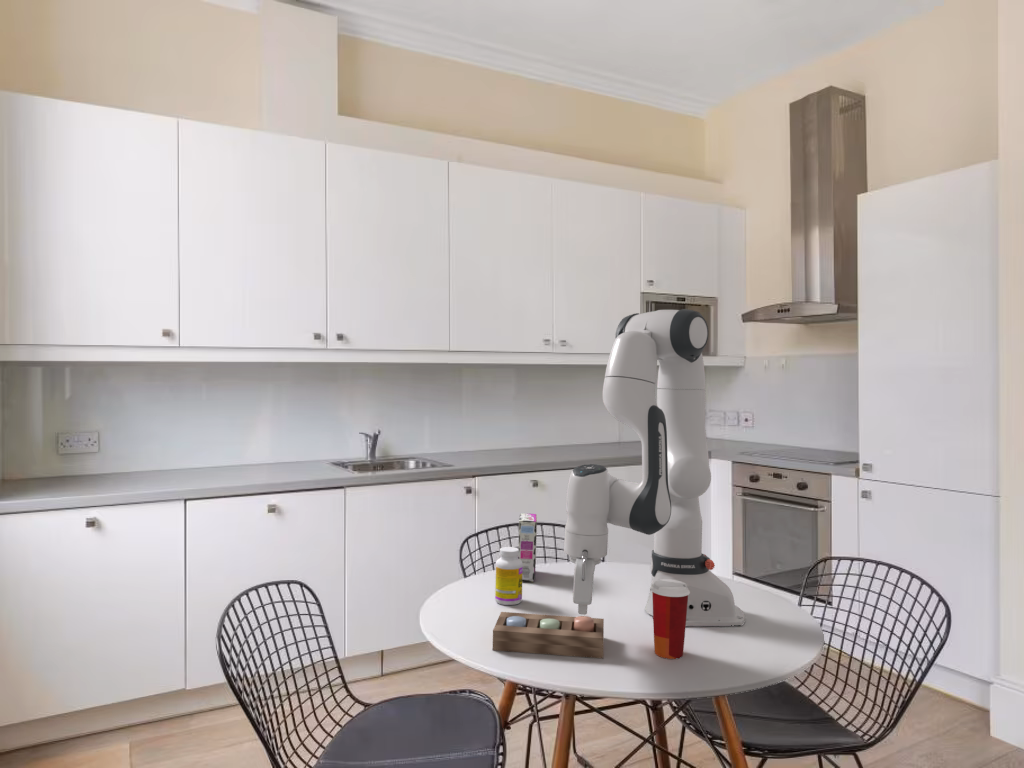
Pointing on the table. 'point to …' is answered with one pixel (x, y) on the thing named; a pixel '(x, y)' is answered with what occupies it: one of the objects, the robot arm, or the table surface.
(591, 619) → the button terracotta
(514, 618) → the button slate
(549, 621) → the button sage
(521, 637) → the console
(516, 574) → the supplement bottle
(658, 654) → the paper cup
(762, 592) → the table surface
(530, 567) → the candy bar box
